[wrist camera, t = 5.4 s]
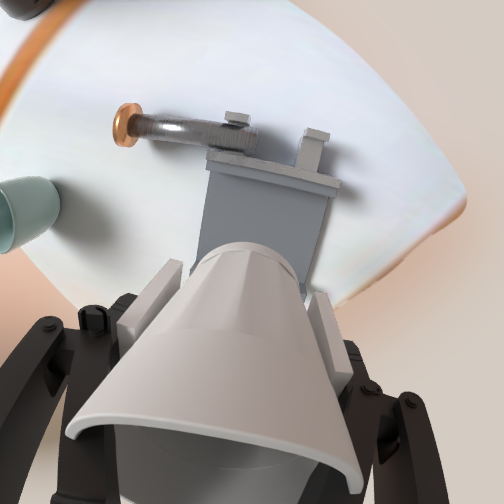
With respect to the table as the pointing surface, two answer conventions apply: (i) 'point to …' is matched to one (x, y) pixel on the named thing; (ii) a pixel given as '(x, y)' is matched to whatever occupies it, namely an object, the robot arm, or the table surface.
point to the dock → (263, 213)
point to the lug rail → (302, 169)
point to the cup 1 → (26, 210)
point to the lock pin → (180, 131)
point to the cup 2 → (224, 392)
